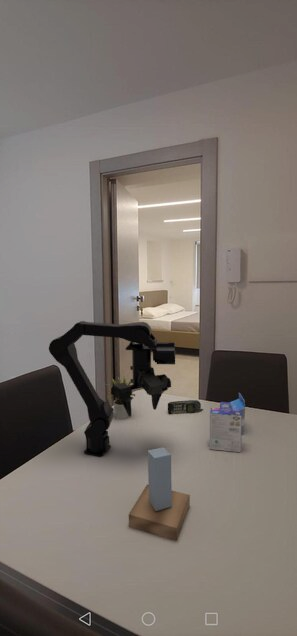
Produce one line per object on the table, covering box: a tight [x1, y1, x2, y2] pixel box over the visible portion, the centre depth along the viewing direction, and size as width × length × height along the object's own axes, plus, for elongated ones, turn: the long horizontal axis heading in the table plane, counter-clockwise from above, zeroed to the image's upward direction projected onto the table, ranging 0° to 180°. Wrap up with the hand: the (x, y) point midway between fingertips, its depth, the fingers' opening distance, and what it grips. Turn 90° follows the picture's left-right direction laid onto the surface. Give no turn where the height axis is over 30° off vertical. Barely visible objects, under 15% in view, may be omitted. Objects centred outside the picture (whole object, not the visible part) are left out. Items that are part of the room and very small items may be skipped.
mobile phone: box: [167, 399, 204, 415], centre depth 130 cm, size 5×3×15 cm
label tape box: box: [228, 392, 246, 436], centre depth 115 cm, size 9×4×12 cm, turn 178°
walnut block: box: [128, 483, 191, 542], centre depth 74 cm, size 11×11×4 cm
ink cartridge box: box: [209, 401, 242, 453], centre depth 103 cm, size 10×6×14 cm, turn 78°
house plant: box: [106, 376, 136, 420], centre depth 126 cm, size 14×14×16 cm
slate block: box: [147, 446, 173, 511], centre depth 73 cm, size 4×4×12 cm
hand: (142, 412), depth 99 cm, fingers open, 9 cm apart
